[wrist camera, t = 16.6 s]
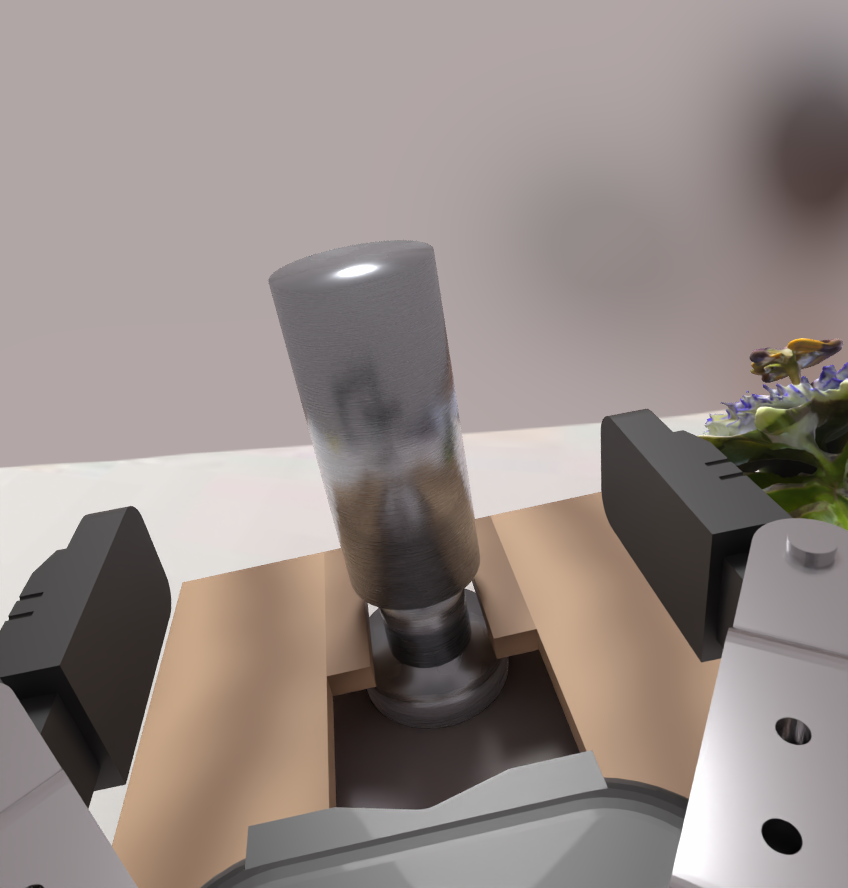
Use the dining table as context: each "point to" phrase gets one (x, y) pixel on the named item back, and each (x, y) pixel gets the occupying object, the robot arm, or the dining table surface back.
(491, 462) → the dining table surface
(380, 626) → the keyhole post
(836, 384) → the passion flower
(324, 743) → the keyhole plate
